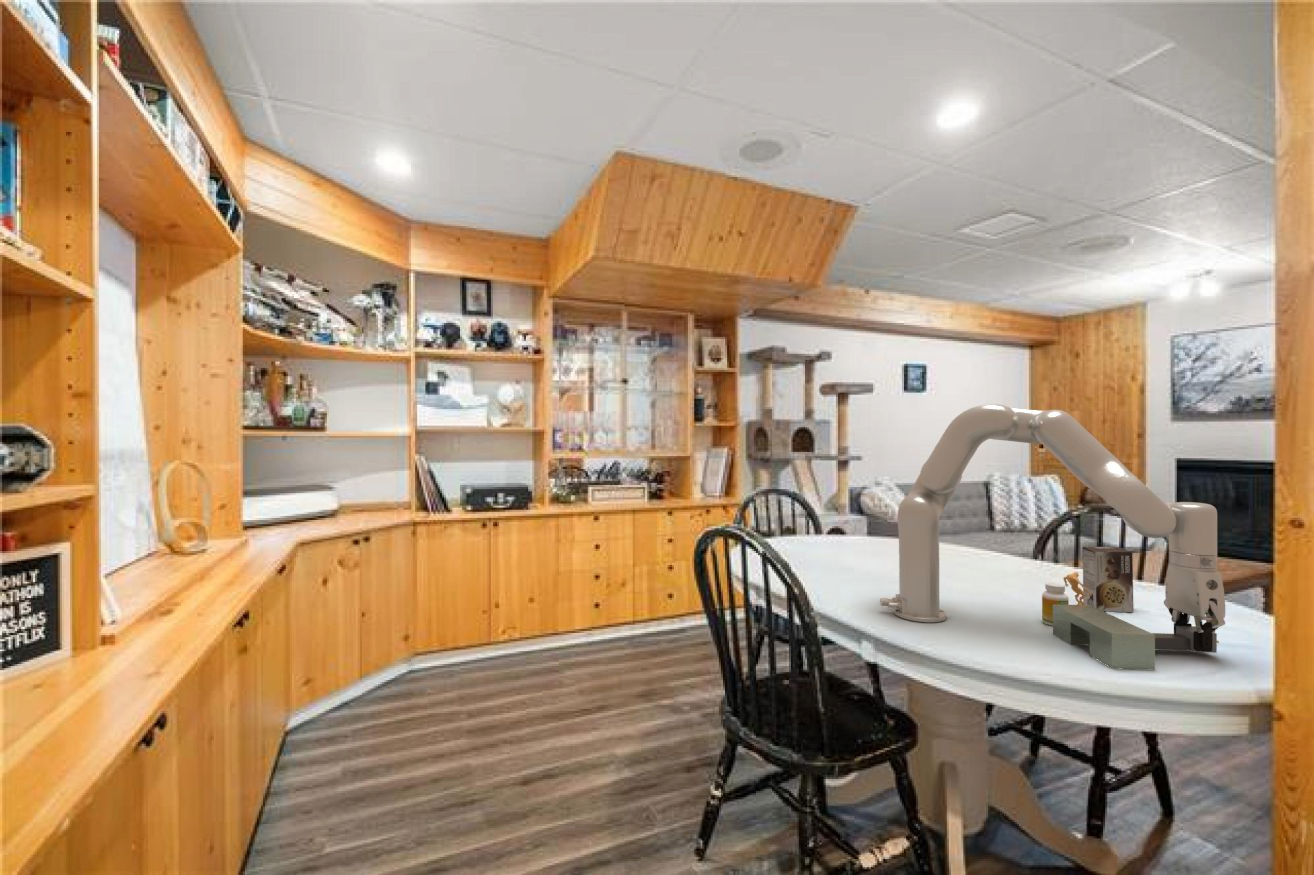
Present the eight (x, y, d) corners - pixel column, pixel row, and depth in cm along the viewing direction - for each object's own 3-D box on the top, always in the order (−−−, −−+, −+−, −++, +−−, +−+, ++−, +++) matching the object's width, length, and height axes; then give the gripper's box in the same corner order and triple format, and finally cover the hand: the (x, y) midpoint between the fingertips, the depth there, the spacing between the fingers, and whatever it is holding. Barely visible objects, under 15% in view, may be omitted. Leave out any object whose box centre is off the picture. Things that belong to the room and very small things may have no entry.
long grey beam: (1126, 649, 122) (1126, 630, 122) (1111, 642, 126) (1111, 623, 126) (1221, 652, 120) (1221, 633, 120) (1203, 644, 124) (1203, 626, 124)
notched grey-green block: (1111, 668, 115) (1111, 633, 115) (1052, 634, 134) (1052, 604, 134) (1155, 670, 114) (1154, 634, 114) (1089, 635, 134) (1089, 605, 134)
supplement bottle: (1060, 628, 138) (1060, 588, 138) (1037, 622, 143) (1037, 583, 143) (1073, 625, 141) (1073, 585, 141) (1049, 618, 146) (1049, 580, 146)
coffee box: (1118, 605, 156) (1118, 546, 156) (1134, 613, 150) (1134, 551, 150) (1081, 604, 158) (1081, 545, 158) (1095, 611, 151) (1095, 550, 151)
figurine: (1104, 624, 141) (1103, 575, 141) (1079, 624, 141) (1079, 576, 141) (1079, 614, 149) (1079, 567, 149) (1056, 614, 149) (1055, 568, 149)
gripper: (1248, 570, 113) (1248, 662, 114) (1179, 552, 130) (1179, 633, 130) (1207, 569, 114) (1207, 661, 114) (1144, 552, 131) (1144, 632, 131)
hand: (1192, 645), depth 122 cm, fingers closed on long grey beam, 4 cm apart
